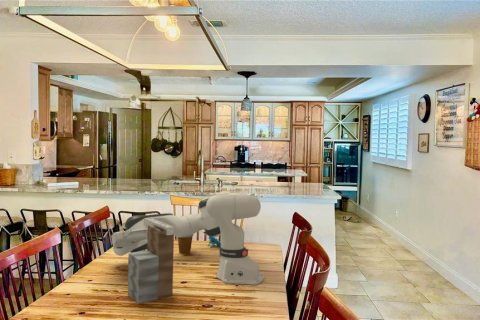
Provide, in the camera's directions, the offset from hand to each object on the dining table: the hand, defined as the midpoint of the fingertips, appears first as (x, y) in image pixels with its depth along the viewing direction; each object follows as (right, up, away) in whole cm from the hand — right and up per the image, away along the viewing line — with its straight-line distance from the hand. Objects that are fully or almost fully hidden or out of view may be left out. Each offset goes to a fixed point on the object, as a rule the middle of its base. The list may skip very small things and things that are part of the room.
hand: (140, 229), depth 166 cm
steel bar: (+11, +3, -13) cm, 17 cm away
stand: (+9, -23, -16) cm, 30 cm away
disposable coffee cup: (+13, -22, +44) cm, 51 cm away
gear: (+30, -22, +58) cm, 69 cm away
